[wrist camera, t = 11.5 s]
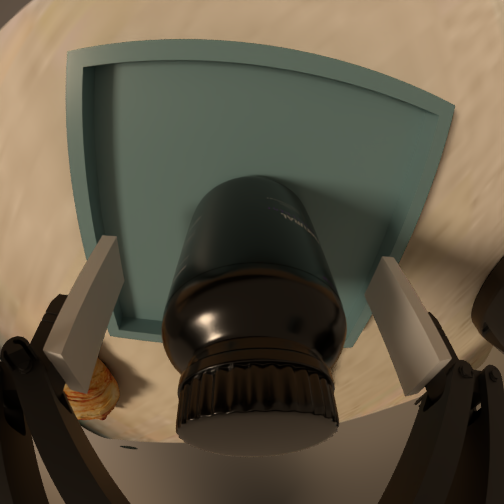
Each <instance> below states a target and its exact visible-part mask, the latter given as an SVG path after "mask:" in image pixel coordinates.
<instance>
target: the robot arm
mask: <svg viewBox="0 0 504 504" xmlns="http://www.w3.org/2000/svg"><path fill="white" fill-rule="evenodd" d="M123 283H124V276H123V270H122V265H121V259H120V253H119V247H118V241H117V236H106V235H102V237H101V238H100V240H99V242H98V243H97V245H96V247H95V248H94V250H93V252H92V253H91V255H90V257H89V258H88V260H87V262H86V264H85V265H84V267H83V269H82V271H81V272H80V274H79V276H78V278H77V280H76V281H75V283H74V285H73V287H72V289H71V291H70V293H69V295H62V294H59V295H58V296H57V297H56V298H55V299H53V300H52V301H51V303H50V305H49V306H48V308H47V310H46V314H44V316H43V318H42V321H41V322H40V324H39V326H38V328H37V330H36V332H35V335H34V337H33V339H32V341H31V343H30V344H29V342H28V340H26V339H25V338H24V337H20V336H16V337H12V338H11V339H9V340H8V341H7V342H6V343H5V344H4V345H3V347H2V350H1V359H2V360H3V361H0V504H49V502H48V499H47V496H46V493H45V490H44V486H43V483H42V479H41V476H40V472H39V468H38V464H37V460H36V455H35V450H34V446H33V440H34V442H35V444H36V447H37V449H38V451H39V454H40V456H41V458H42V460H43V462H44V464H45V466H46V469H47V471H48V472H49V475H50V477H51V479H52V480H53V482H54V484H55V486H56V488H57V490H58V491H59V493H60V495H61V497H62V498H63V500H64V502H65V503H66V504H130V502H129V501H128V500H127V498H126V497H125V496H124V495H123V493H122V492H121V490H120V489H119V488H118V486H117V485H116V483H115V482H114V480H113V479H112V478H111V476H110V475H109V473H108V472H107V470H106V469H105V467H104V465H103V464H102V462H101V461H100V459H99V457H98V456H97V454H96V452H95V451H94V449H93V447H92V445H91V444H90V442H89V440H88V438H87V436H86V435H85V433H84V431H83V429H82V427H81V425H80V423H79V421H78V419H77V417H76V415H75V413H74V411H73V409H72V407H71V405H70V403H69V401H68V398H67V396H66V394H65V392H64V391H63V390H64V386H65V383H66V384H67V386H68V387H69V388H70V390H73V391H77V392H81V393H85V394H87V393H88V389H89V385H90V382H91V378H92V375H93V371H94V368H95V364H96V361H97V358H98V354H99V351H100V348H101V345H102V342H103V339H104V336H105V333H106V330H107V327H108V324H109V321H110V318H111V315H112V312H113V310H114V307H115V304H116V302H117V299H118V296H119V294H120V291H121V288H122V286H123ZM364 296H365V298H366V300H367V303H368V305H369V307H370V309H371V312H372V314H373V316H374V318H375V321H376V323H377V325H378V328H379V330H380V332H381V335H382V337H383V340H384V342H385V345H386V347H387V349H388V352H389V354H390V357H391V360H392V362H393V365H394V367H395V370H396V372H397V375H398V378H399V381H400V383H401V386H402V389H403V391H404V394H405V396H409V395H413V394H417V393H419V392H420V391H421V390H422V389H423V388H424V387H425V388H426V390H427V392H425V393H424V394H423V395H422V396H421V397H420V398H419V399H418V400H417V401H416V402H415V405H417V404H418V403H419V402H420V401H421V400H422V401H421V404H420V405H419V410H418V413H417V417H416V419H415V422H414V425H413V428H412V431H411V433H410V436H409V438H408V441H407V443H406V446H405V448H404V451H403V453H402V455H401V458H400V460H399V462H398V465H397V467H396V469H395V471H394V473H393V475H392V477H391V479H390V481H389V483H388V485H387V487H386V489H385V491H384V493H383V495H382V497H381V499H380V501H379V502H378V504H504V389H503V382H502V376H501V373H500V372H499V370H498V369H497V368H496V367H495V366H493V365H488V366H486V367H485V369H483V370H482V371H477V370H473V368H472V367H471V365H470V364H469V363H467V362H466V361H464V360H459V359H458V358H457V356H456V354H455V352H454V350H453V348H452V346H451V344H450V342H449V340H448V338H447V336H445V333H444V331H443V330H442V327H441V325H440V324H439V322H438V320H437V319H436V318H435V317H434V316H433V315H432V314H431V313H430V312H427V310H426V309H425V307H424V305H423V304H422V302H421V300H420V298H419V297H418V295H417V293H416V292H415V290H414V289H413V287H412V285H411V284H410V282H409V280H408V279H407V277H406V276H405V274H404V272H403V271H402V269H401V268H400V266H399V265H398V263H397V262H396V260H395V259H394V257H384V256H382V258H381V260H380V262H379V264H378V267H377V269H376V271H375V273H374V275H373V277H372V280H371V282H370V284H369V286H368V288H367V290H366V292H365V294H364ZM471 318H472V322H473V323H474V325H475V327H476V328H477V330H478V332H479V333H480V334H481V336H482V337H484V338H485V339H486V340H487V341H488V342H490V343H491V344H492V345H493V346H495V347H496V348H497V349H498V350H499V351H501V352H502V353H503V354H504V257H503V258H502V260H501V261H500V262H499V263H498V265H497V266H496V267H495V268H494V270H493V271H492V273H491V274H490V275H489V277H488V278H487V280H486V282H485V283H484V285H483V286H482V288H481V290H480V292H479V294H478V296H477V298H476V300H475V303H474V305H473V309H472V314H471ZM480 403H481V408H480V409H479V410H478V411H477V410H476V406H477V405H478V404H480ZM32 437H33V440H32Z"/></svg>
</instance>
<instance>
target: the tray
mask: <svg viewBox="0 0 504 504" xmlns="http://www.w3.org/2000/svg"><path fill="white" fill-rule="evenodd" d="M454 109H455V105H453V104H451V103H449V102H447V101H445V100H443V99H441V98H439V97H437V96H435V95H433V94H431V93H429V92H426V91H424V90H422V89H420V88H417V87H415V86H413V85H410V84H408V83H406V82H403V81H401V80H398V79H395V78H393V77H390V76H387V75H385V74H382V73H379V72H376V71H373V70H370V69H367V68H364V67H361V66H358V65H354V64H351V63H348V62H344V61H341V60H337V59H333V58H329V57H325V56H321V55H317V54H312V53H308V52H303V51H298V50H293V49H287V48H282V47H276V46H269V45H262V44H254V43H245V42H235V41H222V40H202V39H164V40H145V41H132V42H122V43H114V44H106V45H99V46H93V47H87V48H82V49H77V50H72V51H67V64H66V127H67V143H68V155H69V165H70V173H71V181H72V188H73V195H74V201H75V207H76V213H77V218H78V223H79V228H80V233H81V238H82V242H83V247H84V251H85V255H86V259H87V260H88V258H89V257H90V255H91V253H92V252H93V250H94V248H95V247H96V245H97V243H98V242H99V240H100V238H101V237H102V235H106V236H117V241H118V247H119V253H120V259H121V265H122V270H123V276H124V283H123V286H122V288H121V291H120V294H119V296H118V299H117V302H116V304H115V307H114V310H113V312H112V315H111V318H110V321H109V324H108V327H107V329H108V332H109V334H110V336H114V337H121V338H128V339H135V340H143V341H152V342H161V343H163V342H162V336H161V326H162V319H163V314H164V310H165V306H166V302H167V299H168V295H169V292H170V288H171V284H172V281H173V277H174V274H175V270H176V267H177V264H178V260H179V257H180V254H181V250H182V247H183V244H184V241H185V238H186V234H187V231H188V228H189V225H190V222H191V219H192V217H193V214H194V212H195V209H196V207H197V206H198V204H199V202H200V201H201V200H202V198H203V197H204V196H205V195H206V194H207V193H208V192H209V191H210V190H212V189H213V188H215V187H216V186H218V185H219V184H221V183H223V182H226V181H228V180H231V179H234V178H239V177H247V176H255V177H263V178H268V179H271V180H274V181H276V182H279V183H281V184H283V185H284V186H286V187H287V188H289V189H290V190H291V191H293V192H294V193H295V194H296V195H297V196H298V198H299V199H300V200H301V202H302V203H303V205H304V206H305V208H306V210H307V212H308V215H309V217H310V219H311V222H312V224H313V227H314V229H315V232H316V234H317V237H318V239H319V242H320V244H321V247H322V250H323V252H324V255H325V258H326V260H327V263H328V266H329V268H330V271H331V274H332V277H333V279H334V282H335V285H336V288H337V291H338V293H339V296H340V299H341V302H342V305H343V309H344V313H345V317H346V322H347V334H346V339H345V344H344V347H343V348H350V347H353V345H354V344H355V342H356V340H357V339H358V337H359V335H360V334H361V332H362V330H363V329H364V327H365V325H366V324H367V322H368V320H369V319H370V317H371V315H372V312H371V309H370V307H369V305H368V303H367V300H366V298H365V296H364V294H365V292H366V290H367V288H368V286H369V284H370V282H371V280H372V277H373V275H374V273H375V271H376V269H377V267H378V264H379V262H380V260H381V258H382V256H384V257H394V259H395V260H396V262H397V263H398V264H399V262H400V259H401V257H402V255H403V253H404V251H405V249H406V247H407V244H408V242H409V240H410V238H411V235H412V233H413V231H414V228H415V226H416V224H417V221H418V219H419V217H420V214H421V212H422V209H423V207H424V204H425V201H426V199H427V196H428V194H429V191H430V188H431V185H432V183H433V180H434V177H435V174H436V171H437V168H438V165H439V162H440V159H441V156H442V153H443V149H444V146H445V143H446V139H447V136H448V132H449V128H450V125H451V121H452V117H453V113H454Z"/></svg>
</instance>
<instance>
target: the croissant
mask: <svg viewBox="0 0 504 504" xmlns="http://www.w3.org/2000/svg"><path fill="white" fill-rule="evenodd" d="M63 391H64V392H65V394H66V396H67V398H68V401H69V403H70V405H71V407H72V409H73V411H74V413H75V415H76V417H77V419H78V420H91V419H100V420H105V419H106V417H107V415H108V414H109V413H110V412H111V411H112V410H113V409H114V407H115V405H116V403H117V401H118V399H119V396H120V393H119V388H118V384H117V382H116V380H115V378H114V377H113V376H112V374H111V373H110V370H109V369H108V368H107V367H106V366H105V365H104V364H103V363H102V361H101V360H100V359H98V358H97V361H96V364H95V368H94V371H93V375H92V378H91V382H90V385H89V389H88V393H87V394H85V393H81V392H77V391H73V390H70V388H69V387H68V386H67V384H66V383H65V386H64V390H63Z"/></svg>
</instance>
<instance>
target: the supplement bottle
mask: <svg viewBox="0 0 504 504" xmlns="http://www.w3.org/2000/svg"><path fill="white" fill-rule="evenodd" d="M346 334H347V322H346V317H345V313H344V309H343V305H342V302H341V299H340V296H339V293H338V291H337V288H336V285H335V282H334V279H333V277H332V274H331V271H330V268H329V266H328V263H327V260H326V258H325V255H324V252H323V250H322V247H321V244H320V242H319V239H318V237H317V234H316V232H315V229H314V227H313V224H312V222H311V219H310V217H309V215H308V212H307V210H306V208H305V206H304V205H303V203H302V202H301V200H300V199H299V198H298V196H297V195H296V194H295V193H294V192H293V191H291V190H290V189H289V188H287V187H286V186H284V185H283V184H281V183H279V182H276V181H274V180H271V179H268V178H263V177H255V176H247V177H239V178H234V179H231V180H228V181H226V182H223V183H221V184H219V185H218V186H216V187H215V188H213V189H212V190H210V191H209V192H208V193H207V194H206V195H205V196H204V197H203V198H202V200H201V201H200V202H199V204H198V206H197V207H196V209H195V212H194V214H193V217H192V219H191V222H190V225H189V228H188V231H187V234H186V238H185V241H184V244H183V247H182V250H181V254H180V257H179V260H178V264H177V267H176V270H175V274H174V277H173V281H172V284H171V288H170V292H169V295H168V299H167V302H166V306H165V310H164V314H163V319H162V326H161V336H162V342H163V346H164V349H165V352H166V354H167V356H168V358H169V360H170V362H171V363H172V365H173V366H174V368H175V369H176V370H177V371H178V372H179V373H180V374H181V377H180V380H179V385H178V398H179V404H178V412H177V420H176V433H177V434H178V435H179V438H180V439H182V440H184V442H185V443H187V444H190V445H191V446H193V447H196V448H198V449H200V450H204V451H208V452H211V453H216V454H221V455H229V456H239V457H263V456H275V455H283V454H288V453H293V452H298V451H301V450H304V449H308V448H310V447H313V446H316V445H318V444H320V443H322V442H324V441H326V440H327V439H328V438H330V437H332V436H333V434H334V433H335V432H337V428H338V427H339V417H338V412H337V407H336V402H335V397H334V390H335V387H334V382H333V377H332V373H331V371H330V369H331V368H332V367H333V365H334V364H335V363H336V361H337V360H338V358H339V356H340V354H341V352H342V349H343V347H344V344H345V339H346Z"/></svg>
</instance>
